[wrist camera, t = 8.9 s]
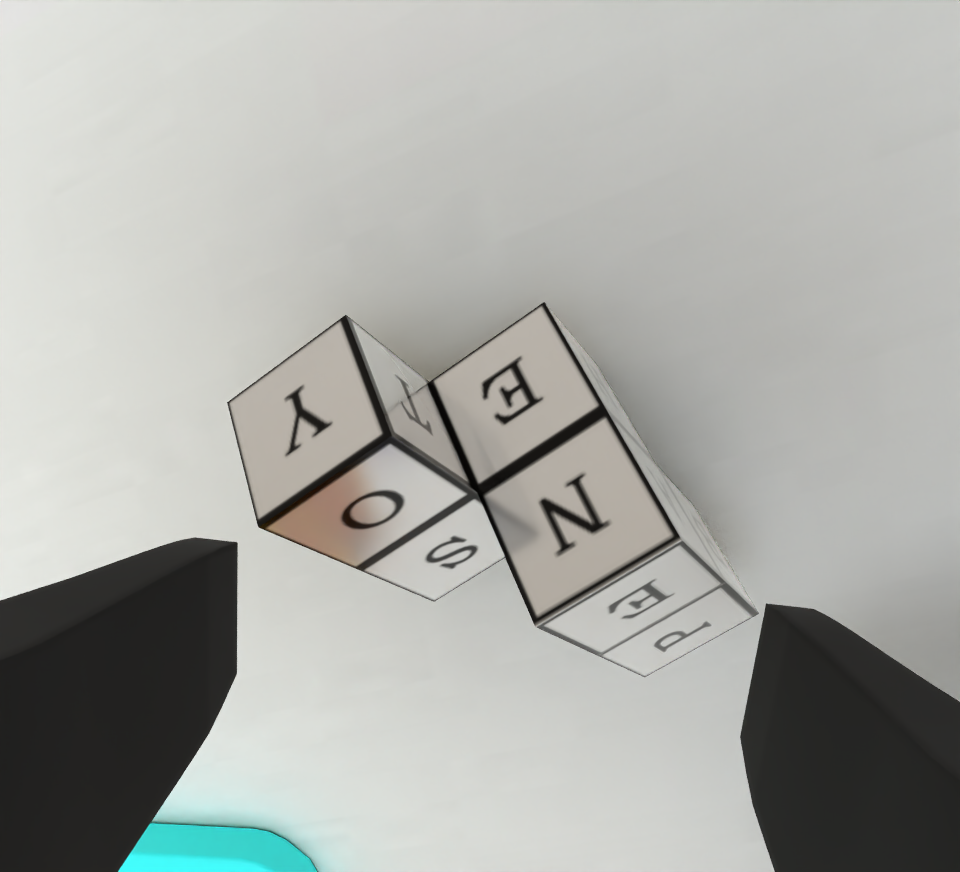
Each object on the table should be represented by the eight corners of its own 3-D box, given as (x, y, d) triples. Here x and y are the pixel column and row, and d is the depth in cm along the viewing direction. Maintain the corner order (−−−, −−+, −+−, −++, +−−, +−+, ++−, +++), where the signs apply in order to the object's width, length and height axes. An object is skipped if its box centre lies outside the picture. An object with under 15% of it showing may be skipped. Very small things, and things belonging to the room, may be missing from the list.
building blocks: (639, 415, 20) (474, 219, 14) (758, 614, 17) (621, 480, 11) (455, 532, 21) (227, 402, 15) (538, 736, 18) (296, 682, 12)
